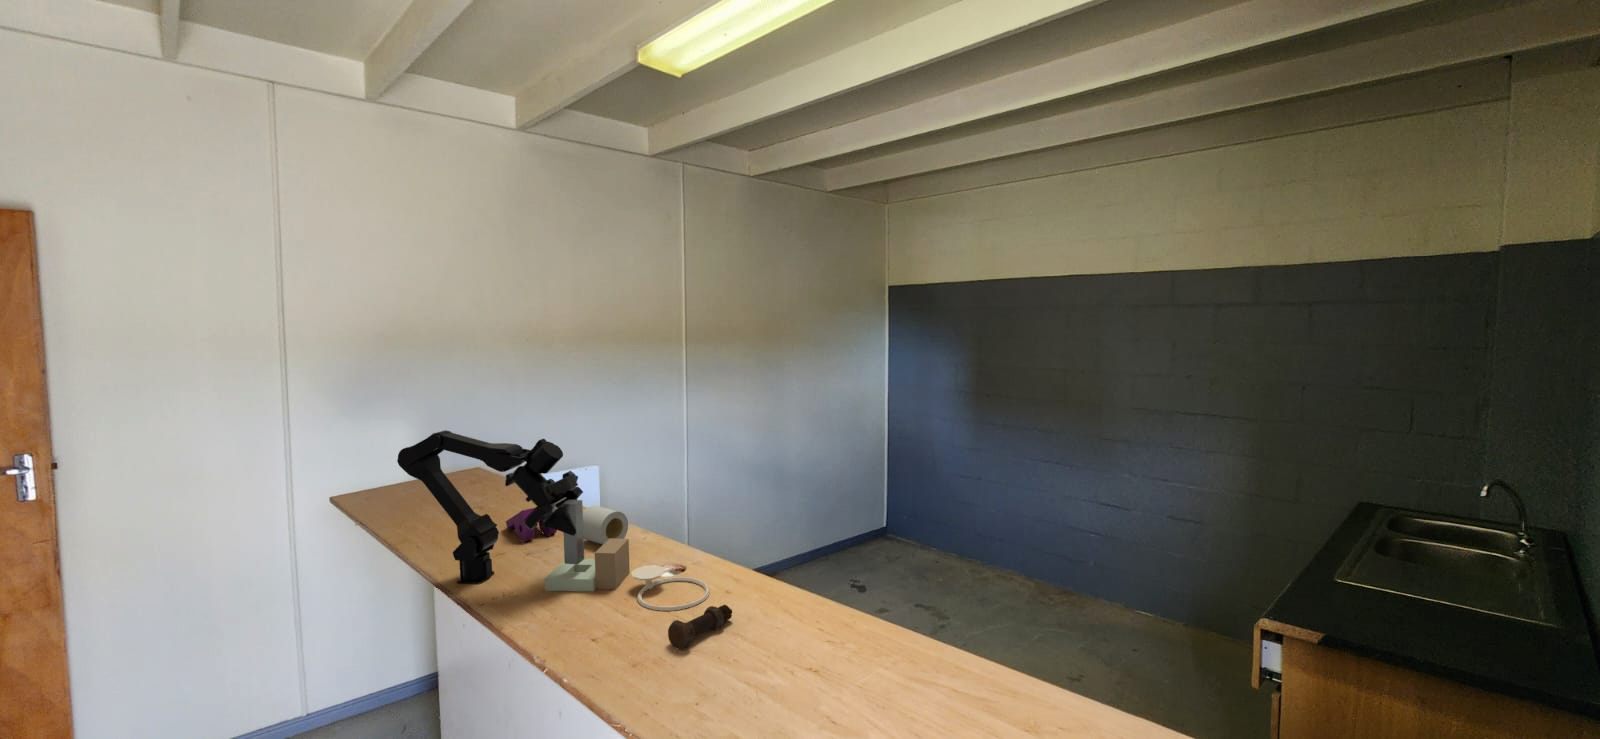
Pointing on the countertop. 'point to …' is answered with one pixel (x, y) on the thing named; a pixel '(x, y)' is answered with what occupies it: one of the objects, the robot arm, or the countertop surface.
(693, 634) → the bolt
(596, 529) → the toilet paper
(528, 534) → the mounting bracket
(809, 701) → the countertop surface
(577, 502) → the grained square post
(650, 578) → the hand towel holder
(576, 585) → the square holed base
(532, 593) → the countertop surface
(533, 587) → the countertop surface
